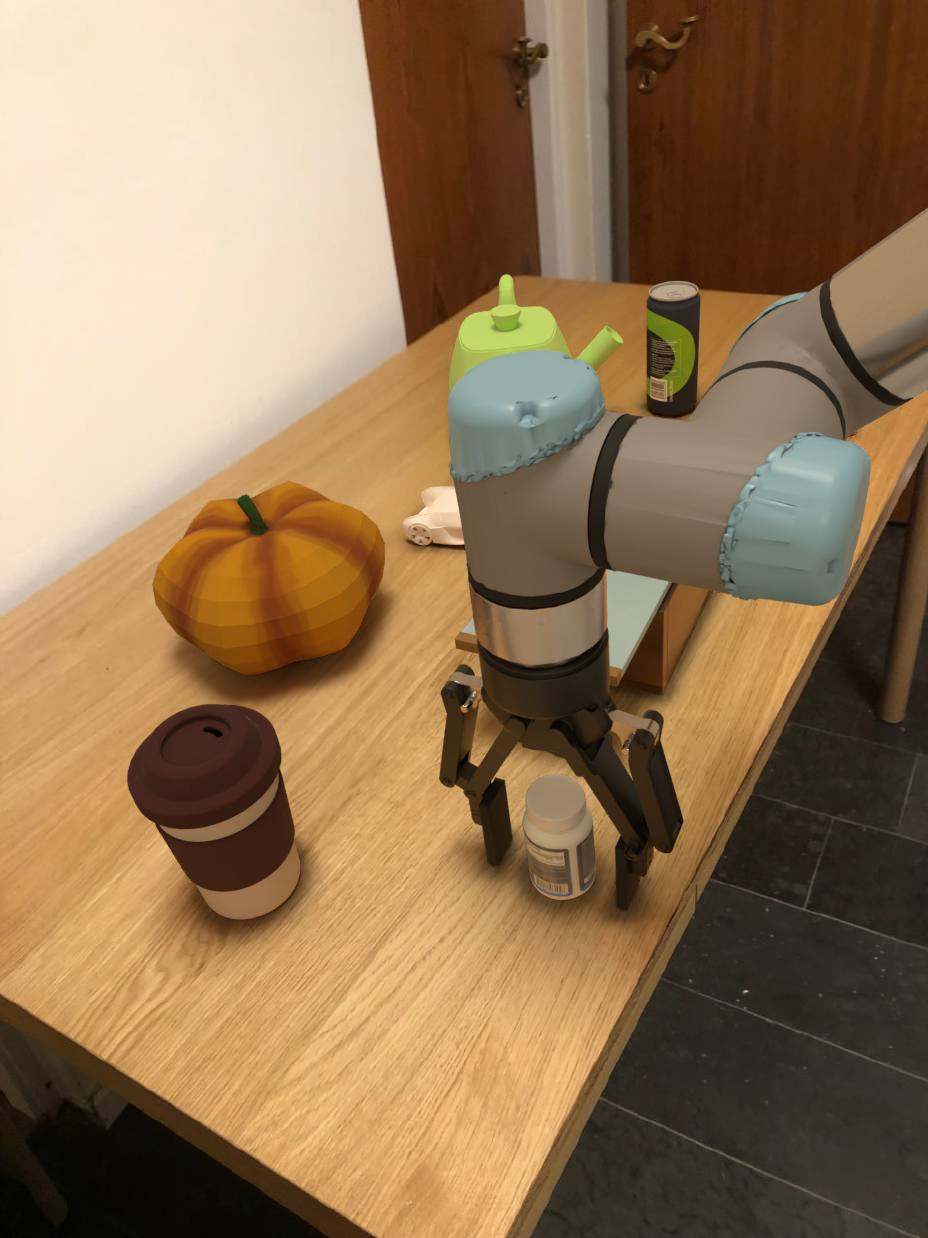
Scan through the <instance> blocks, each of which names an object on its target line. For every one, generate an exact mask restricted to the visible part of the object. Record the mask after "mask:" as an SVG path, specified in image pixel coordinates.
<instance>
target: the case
mask: <svg viewBox="0 0 928 1238" xmlns="http://www.w3.org/2000/svg"><path fill="white" fill-rule="evenodd" d="M711 594H712V590H707V589H702V588H697V587H693V586H688V585H683V584H678V583H673V582H672V584H671V586H670V588H669V589H668V591H667V593H666V595H665V597H664V599H663V601H662V603H661V605H660V606H659V608H658V610H657V612H656V614H655V616H654V618H653V620H652V622H651V623H650V625H649V627H648V629H647V631H646V633H645V635H644V637H643V639H642V640H641V642H640V644H639V646H638V648H637V650H636V652H635V654H634V656H633V658H632V659H631V661H630V663H629V665H628V667H627V669H626V671H625V673H624V675H623V676H622V678H621V680H620V682H619V684H618V686H623V687H628V688H632V689H636V690H640V691H644V692H649V693H652V694H657V695H661V696H663V695H664V692H665V690H666V689H667V687H668V684H669V682H670V680H671V677H672V676H673V674H674V671H675V670H676V667H677V665H678V664H679V661H680V659H681V657H682V655H683V653H684V650H685V649H686V646H687V645H688V642H689V640H690V638H691V636H692V633H693V632H694V629H695V627H696V625H697V623H698V621H699V620H700V617H701V615H702V612H703V611H704V609H705V606H706V604H707V602H708V600H709V598H710V597H711V596H710V595H711Z"/></svg>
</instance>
